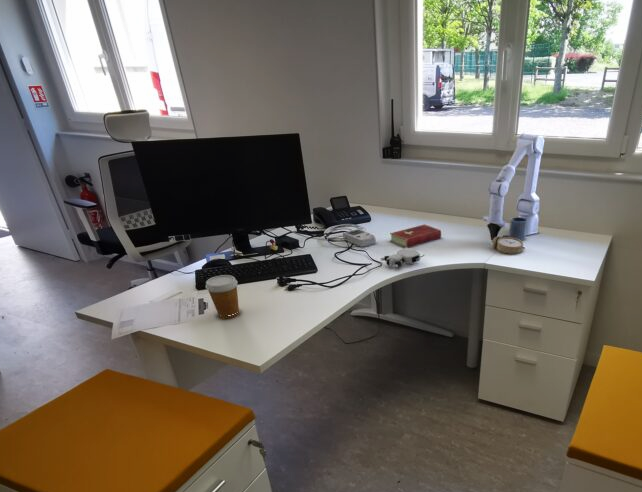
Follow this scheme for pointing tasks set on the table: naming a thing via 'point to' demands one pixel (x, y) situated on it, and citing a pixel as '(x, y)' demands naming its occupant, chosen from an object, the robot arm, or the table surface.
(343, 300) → the table surface
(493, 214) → the robot arm
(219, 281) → the disposable coffee cup
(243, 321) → the table surface
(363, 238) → the handheld gaming device
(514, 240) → the alarm clock
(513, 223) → the pen pot
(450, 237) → the table surface
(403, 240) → the hardcover book
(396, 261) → the robot toy
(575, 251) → the table surface
